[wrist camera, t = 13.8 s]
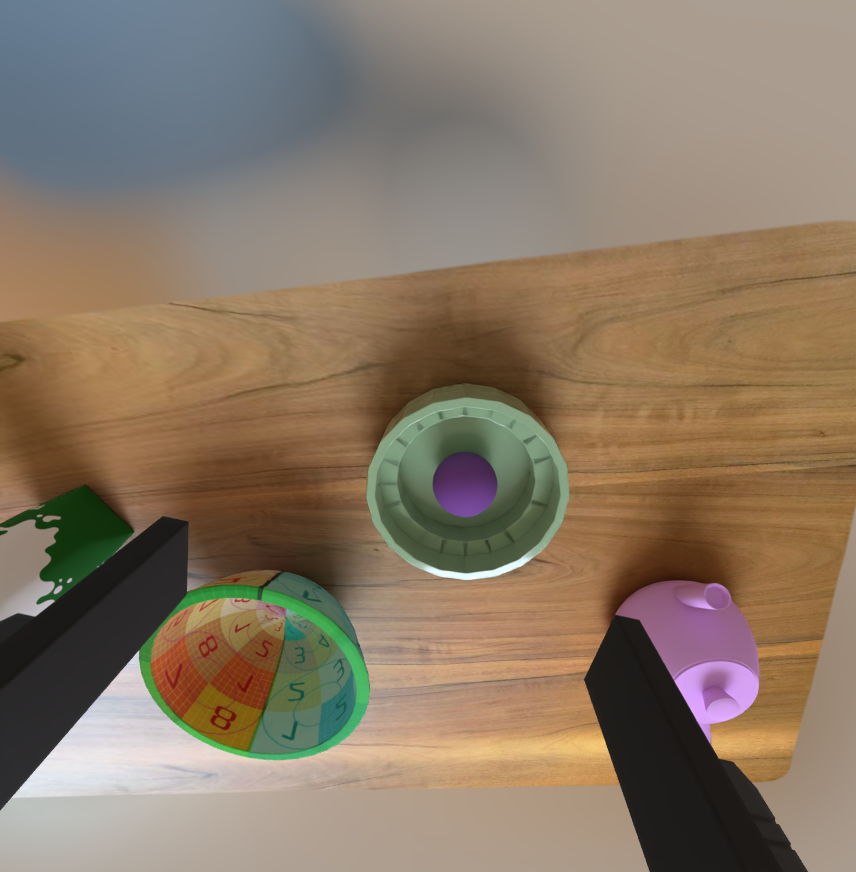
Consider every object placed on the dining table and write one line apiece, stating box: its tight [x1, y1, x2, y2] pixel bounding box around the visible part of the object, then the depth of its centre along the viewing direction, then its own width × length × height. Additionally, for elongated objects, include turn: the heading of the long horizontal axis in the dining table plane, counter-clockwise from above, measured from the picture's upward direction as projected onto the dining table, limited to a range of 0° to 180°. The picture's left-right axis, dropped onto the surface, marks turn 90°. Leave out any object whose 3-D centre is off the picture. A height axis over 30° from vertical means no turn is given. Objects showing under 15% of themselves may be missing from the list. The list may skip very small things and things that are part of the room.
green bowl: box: [366, 383, 570, 580], centre depth 39 cm, size 18×18×6 cm
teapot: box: [615, 580, 759, 744], centre depth 42 cm, size 14×20×11 cm
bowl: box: [139, 570, 370, 760], centre depth 44 cm, size 22×22×10 cm
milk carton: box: [0, 485, 134, 621], centre depth 37 cm, size 9×9×20 cm
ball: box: [433, 452, 497, 517], centre depth 38 cm, size 6×6×6 cm
